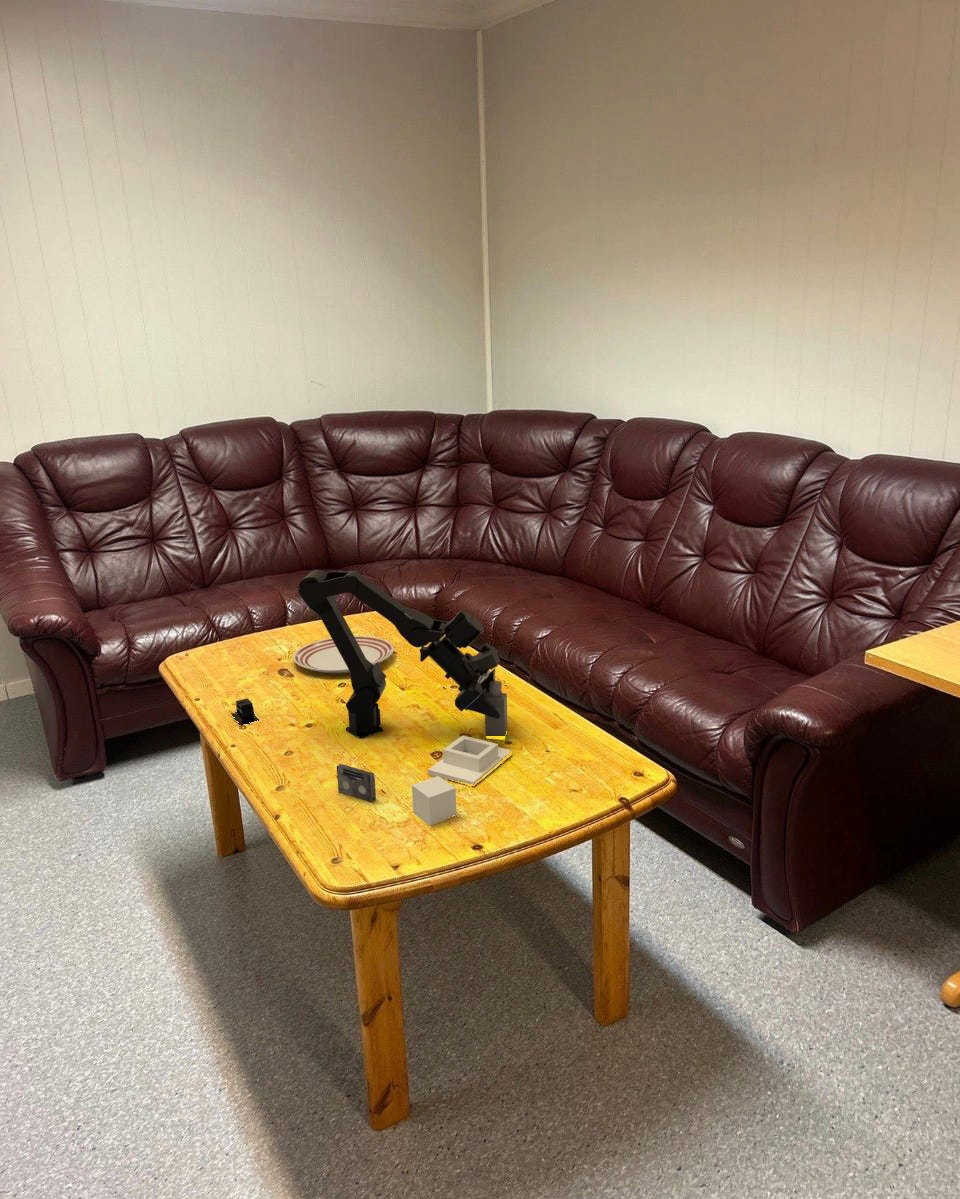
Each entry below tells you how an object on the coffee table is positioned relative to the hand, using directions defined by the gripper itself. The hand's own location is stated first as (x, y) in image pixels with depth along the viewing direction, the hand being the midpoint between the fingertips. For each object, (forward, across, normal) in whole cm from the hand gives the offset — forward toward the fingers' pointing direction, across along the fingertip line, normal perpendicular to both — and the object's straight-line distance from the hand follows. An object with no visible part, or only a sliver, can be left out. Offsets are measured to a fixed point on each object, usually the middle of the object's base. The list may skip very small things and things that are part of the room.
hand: (502, 710), depth 206 cm
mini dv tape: (-12, -31, +22) cm, 39 cm away
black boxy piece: (-39, +1, +49) cm, 63 cm away
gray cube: (0, -35, +10) cm, 36 cm away
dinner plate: (-31, +40, +41) cm, 65 cm away
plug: (+4, 0, +6) cm, 7 cm away
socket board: (+2, -14, +8) cm, 16 cm away
